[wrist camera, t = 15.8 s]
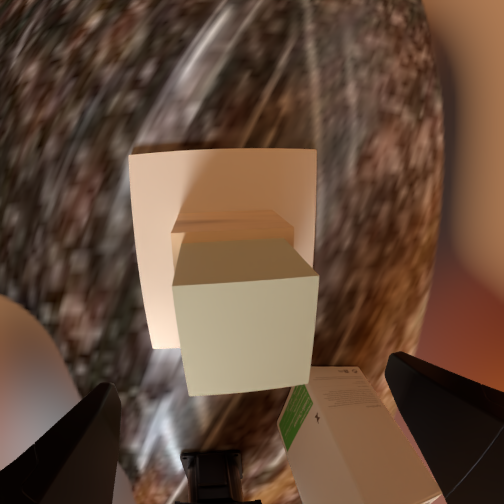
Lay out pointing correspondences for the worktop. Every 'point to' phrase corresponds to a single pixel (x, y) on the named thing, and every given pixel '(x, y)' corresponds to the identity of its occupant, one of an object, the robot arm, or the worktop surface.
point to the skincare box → (349, 444)
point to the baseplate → (211, 209)
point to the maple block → (228, 228)
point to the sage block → (244, 315)
